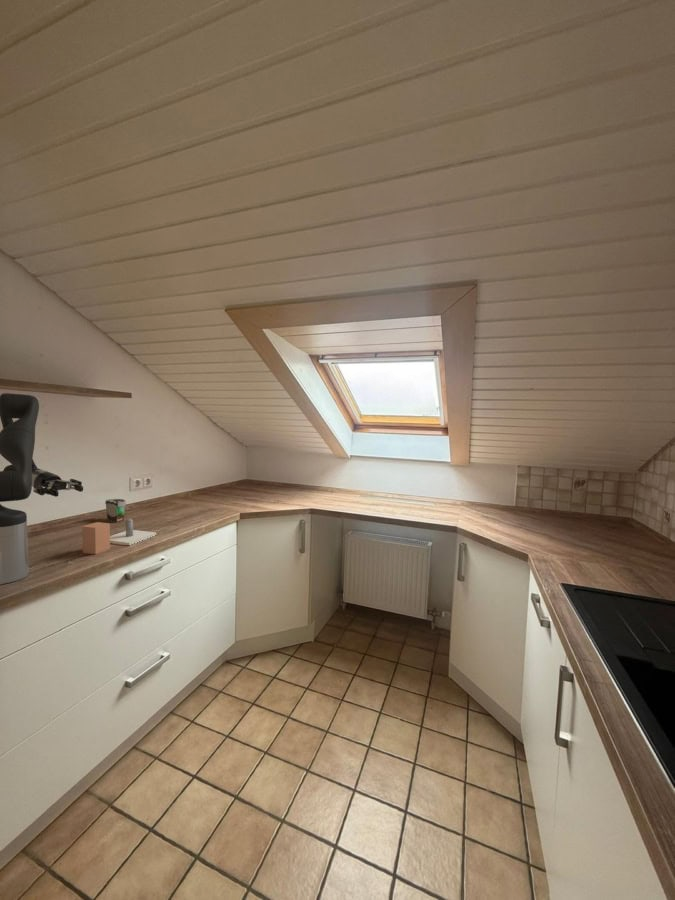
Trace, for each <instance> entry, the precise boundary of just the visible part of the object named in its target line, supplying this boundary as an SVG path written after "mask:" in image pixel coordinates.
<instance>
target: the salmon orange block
mask: <svg viewBox="0 0 675 900" xmlns="http://www.w3.org/2000/svg"><path fill="white" fill-rule="evenodd" d="M110 526H111V525H110V522H109V523H108V522H99V521H97V522H93V523H89V524H86V525H83V526H82V528H81V529H82V532H81V533H82V553H83V554H89V555H98V554H101V553H104V552H106V551H109V550H111V543H110V536H111V527H110Z"/></svg>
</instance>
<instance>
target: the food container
mask: <svg viewBox="0 0 675 900" xmlns="http://www.w3.org/2000/svg"><path fill="white" fill-rule="evenodd" d="M104 503H105V508H106V509H105V510H106V512H105V513H106V520H107V521H109V520H110V522H112V521H114V522H113V523H116V522H119V523H122V522H123V521H124V519H125V508H126V505H127V502H126V500H125V499H123V498H122V499H121V498H113V499H112V498H111V499H105V502H104ZM121 521H122V522H121Z"/></svg>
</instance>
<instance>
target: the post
mask: <svg viewBox="0 0 675 900" xmlns="http://www.w3.org/2000/svg"><path fill="white" fill-rule="evenodd" d="M155 535H156V536H157V532H156V531H155V532H153V531H145V530H138V529H137V530H136V529H134V520H133V519H132V518H127V519H126V520H125V530H124V531H121V532H119V533H116V534H112V535H110V544H114V545H119V546H127V545H130V546H132V545H131V544H133V545H135V544H137V542H138V543H140V542H143V541H146V540H148V539H150V537H151V538H152V536H153V537H156V536H155ZM147 538H148V539H147ZM142 540H143V541H142ZM139 541H140V542H139ZM134 543H135V544H134Z"/></svg>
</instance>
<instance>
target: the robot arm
mask: <svg viewBox="0 0 675 900" xmlns="http://www.w3.org/2000/svg"><path fill="white" fill-rule="evenodd" d="M39 410H40V402H39V399H38V398H37V397H36V396H33V395H31V394H21V393H19V394H18V393H10V392H9V393H7V392H4V393H1V394H0V421H1V425H2V429H1V431H0V456H1V457H3V459H5V460H6V461H7V462H9V463H10V464H9V465H6V466H5V467H4V468H3V469H4V470H2V471H0V586H1V585H4V584H8V583H13V582H17V581H19V580H22V579H24V578H26V577H27V576H28V575H29V549H28V548H29V547H28V544H29V543H28V519H27V518H28V517H27V513H26V512H25V511H23V510H18V509H13V508H9V507H6V506H4V505H2V504H1V502H4V503H5V502H14V501H15V502H17V501H23V500H26V499H28V498H29V497H30V495H31V493H32V492H33V493H36V494H38V495H39V496H45V495H50V496H53V497H55V498H57V497H59V491H71V490H75V491H76V492H81V493H83V491H84V486H83V485H82V484H83V483H82V481H80V480H77V479H74V478H70V479H69V480H63V479H62V478H61V476H59V475H58V474H55V473H52V472H50V471H47V470H43V469H41V468H38V467H37V465H36V462H35V461H34V459H33V458H34V457H33V456H34V450H35V442H36V426H37V420H38V416H39V413H40V412H39ZM13 419H17V420H15V421H14V420H13ZM32 488H33V489H32ZM32 490H33V491H32Z"/></svg>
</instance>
